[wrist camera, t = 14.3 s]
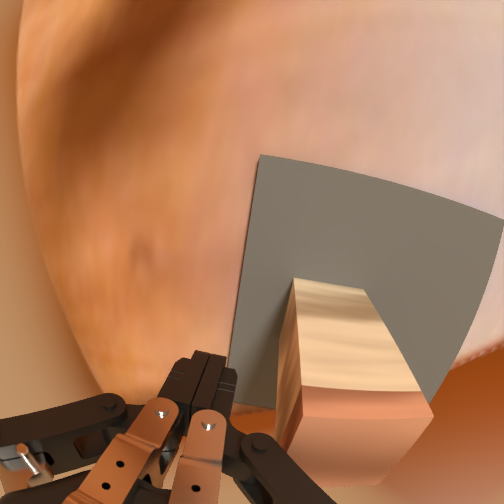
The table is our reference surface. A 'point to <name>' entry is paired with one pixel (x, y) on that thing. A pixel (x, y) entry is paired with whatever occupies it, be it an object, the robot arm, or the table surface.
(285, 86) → the table surface
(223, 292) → the table surface
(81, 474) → the robot arm
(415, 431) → the birch block
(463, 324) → the slate mat
